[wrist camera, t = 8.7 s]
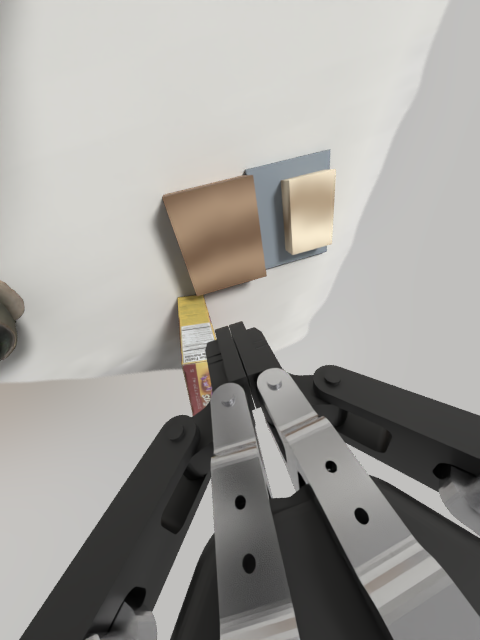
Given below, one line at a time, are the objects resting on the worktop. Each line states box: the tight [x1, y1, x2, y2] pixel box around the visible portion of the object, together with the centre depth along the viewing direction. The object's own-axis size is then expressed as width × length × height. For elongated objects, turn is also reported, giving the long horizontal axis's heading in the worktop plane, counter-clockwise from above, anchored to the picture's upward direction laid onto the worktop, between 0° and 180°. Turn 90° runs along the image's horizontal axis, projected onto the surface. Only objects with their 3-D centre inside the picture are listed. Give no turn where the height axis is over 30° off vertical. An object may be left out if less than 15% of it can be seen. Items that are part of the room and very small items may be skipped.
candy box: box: [178, 295, 216, 416], centre depth 30 cm, size 9×4×15 cm, turn 0°
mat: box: [245, 150, 330, 269], centre depth 31 cm, size 13×11×1 cm
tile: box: [281, 169, 336, 255], centre depth 30 cm, size 9×6×2 cm, turn 11°
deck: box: [162, 175, 266, 296], centre depth 28 cm, size 12×10×4 cm
